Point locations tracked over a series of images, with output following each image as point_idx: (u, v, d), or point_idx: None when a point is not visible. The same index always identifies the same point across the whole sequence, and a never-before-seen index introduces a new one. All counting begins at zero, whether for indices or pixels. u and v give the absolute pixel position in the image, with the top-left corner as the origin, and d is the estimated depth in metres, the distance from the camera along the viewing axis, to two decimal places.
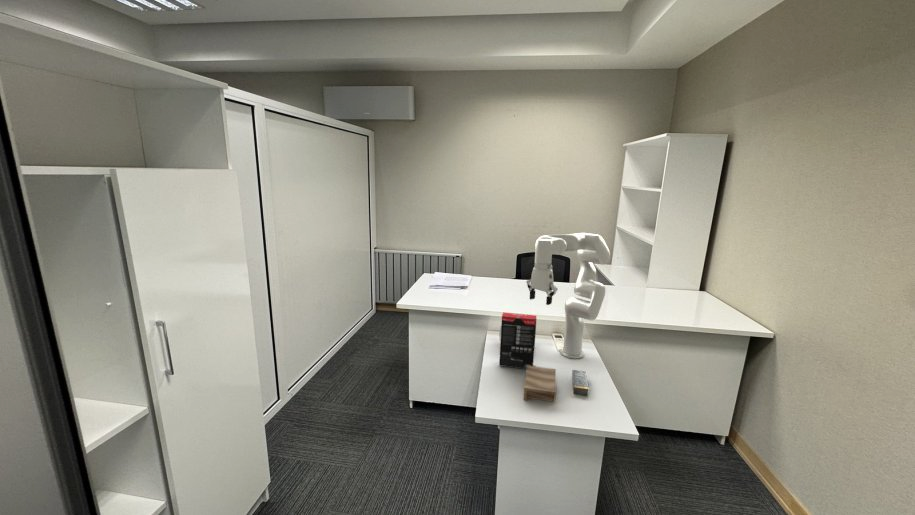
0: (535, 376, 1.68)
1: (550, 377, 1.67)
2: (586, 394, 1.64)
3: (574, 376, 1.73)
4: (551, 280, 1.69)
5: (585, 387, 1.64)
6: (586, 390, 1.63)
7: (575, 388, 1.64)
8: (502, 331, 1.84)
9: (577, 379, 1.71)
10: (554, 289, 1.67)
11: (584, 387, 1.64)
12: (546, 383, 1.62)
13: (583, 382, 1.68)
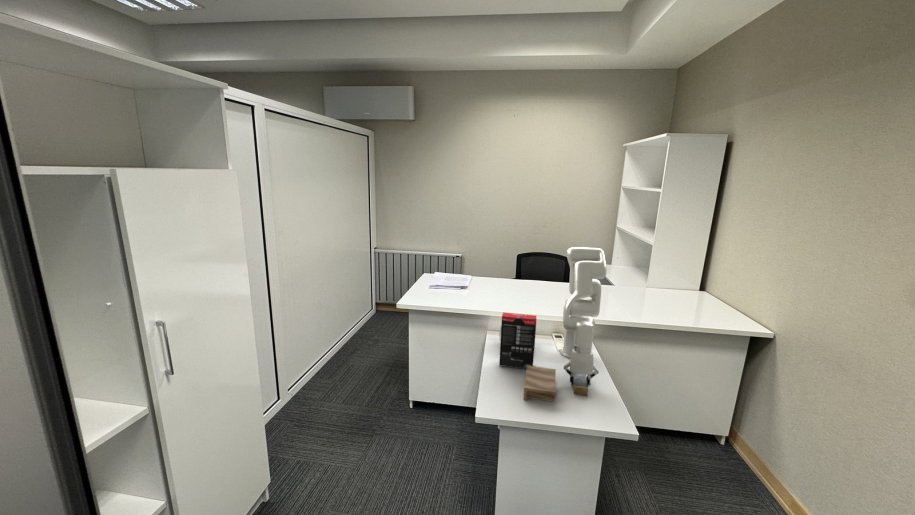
0: (535, 376, 1.68)
1: (550, 377, 1.67)
2: (586, 394, 1.64)
3: (574, 376, 1.73)
4: (570, 359, 1.70)
5: (585, 387, 1.64)
6: (586, 390, 1.63)
7: (575, 388, 1.64)
8: (502, 331, 1.84)
9: (577, 379, 1.71)
10: None
11: (584, 387, 1.64)
12: (546, 383, 1.62)
13: (583, 382, 1.68)
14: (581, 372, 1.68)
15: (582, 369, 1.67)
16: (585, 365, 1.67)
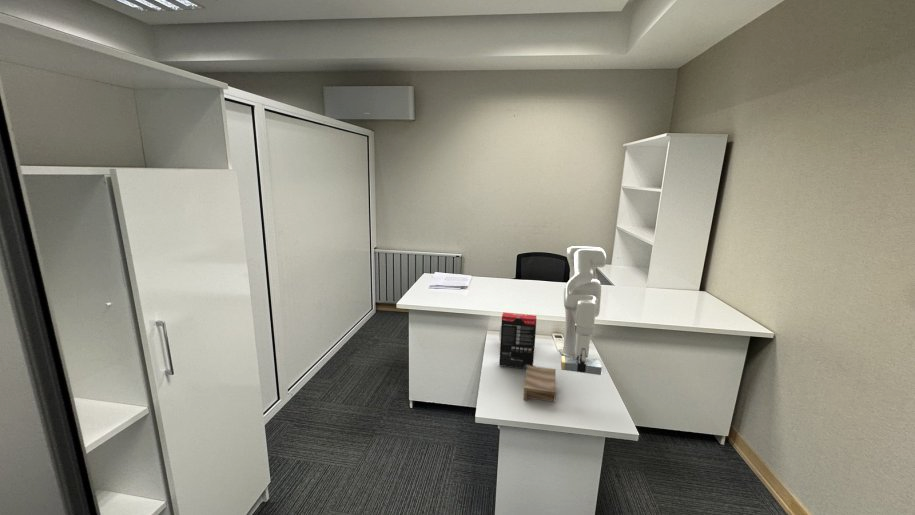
0: (535, 376, 1.68)
1: (550, 377, 1.67)
2: (561, 367, 1.61)
3: None
4: None
5: (563, 361, 1.60)
6: (561, 363, 1.60)
7: None
8: (502, 331, 1.84)
9: (578, 360, 1.62)
10: None
11: (563, 360, 1.61)
12: (546, 383, 1.62)
13: (573, 361, 1.60)
14: (575, 350, 1.60)
15: (575, 347, 1.59)
16: (576, 344, 1.58)
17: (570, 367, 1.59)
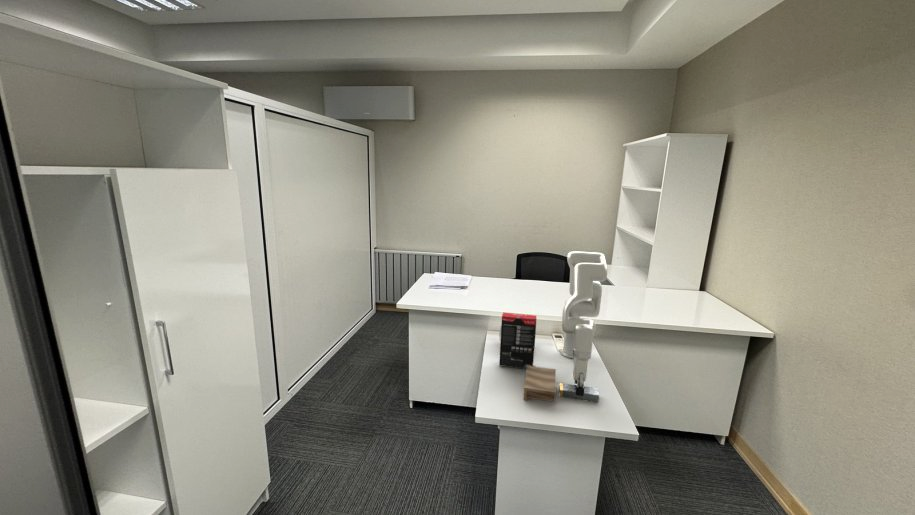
0: (535, 376, 1.68)
1: (550, 377, 1.67)
2: (559, 394, 1.63)
3: None
4: None
5: (561, 389, 1.63)
6: (559, 390, 1.63)
7: None
8: (502, 331, 1.84)
9: None
10: None
11: (561, 387, 1.64)
12: (546, 383, 1.62)
13: (571, 389, 1.63)
14: (573, 374, 1.62)
15: (573, 371, 1.62)
16: (574, 368, 1.60)
17: (568, 394, 1.62)
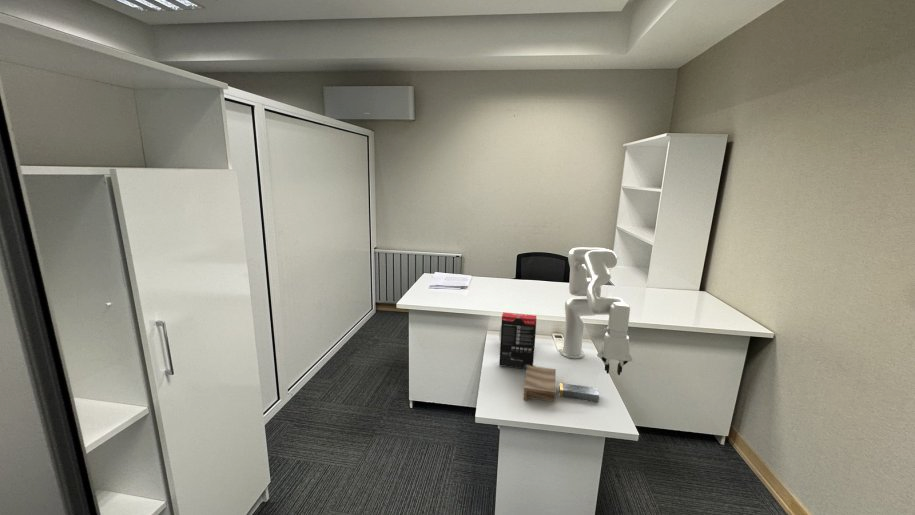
0: (535, 376, 1.68)
1: (550, 377, 1.67)
2: (559, 394, 1.63)
3: (582, 386, 1.65)
4: (603, 344, 1.56)
5: (561, 389, 1.63)
6: (559, 390, 1.63)
7: None
8: (502, 331, 1.84)
9: (576, 387, 1.64)
10: None
11: (561, 387, 1.64)
12: (546, 383, 1.62)
13: (571, 389, 1.63)
14: (616, 358, 1.53)
15: (617, 355, 1.53)
16: (620, 350, 1.52)
17: (568, 394, 1.62)
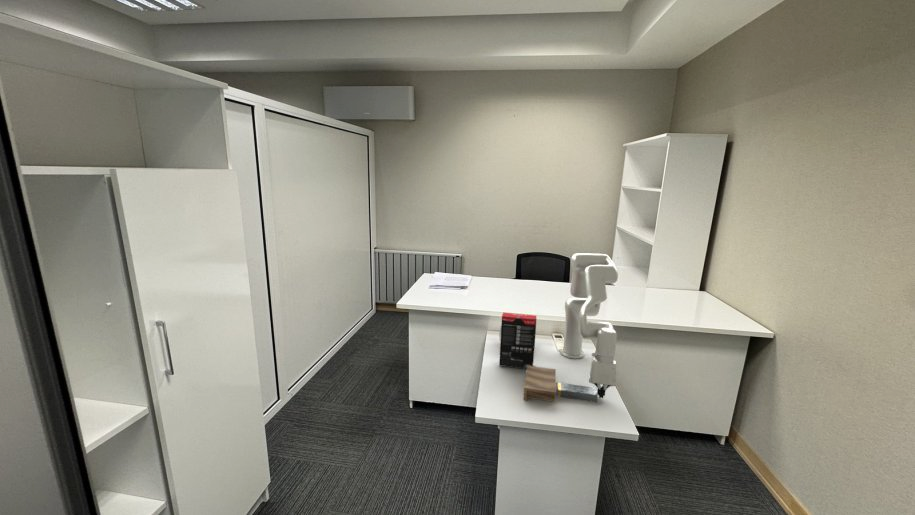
0: (535, 376, 1.68)
1: (550, 377, 1.67)
2: None
3: (580, 386, 1.65)
4: (591, 368, 1.59)
5: (559, 388, 1.63)
6: (558, 390, 1.63)
7: None
8: (502, 331, 1.84)
9: (574, 386, 1.64)
10: None
11: (559, 387, 1.63)
12: (546, 383, 1.62)
13: (569, 389, 1.62)
14: (603, 382, 1.57)
15: (604, 379, 1.56)
16: (607, 375, 1.56)
17: (566, 394, 1.61)
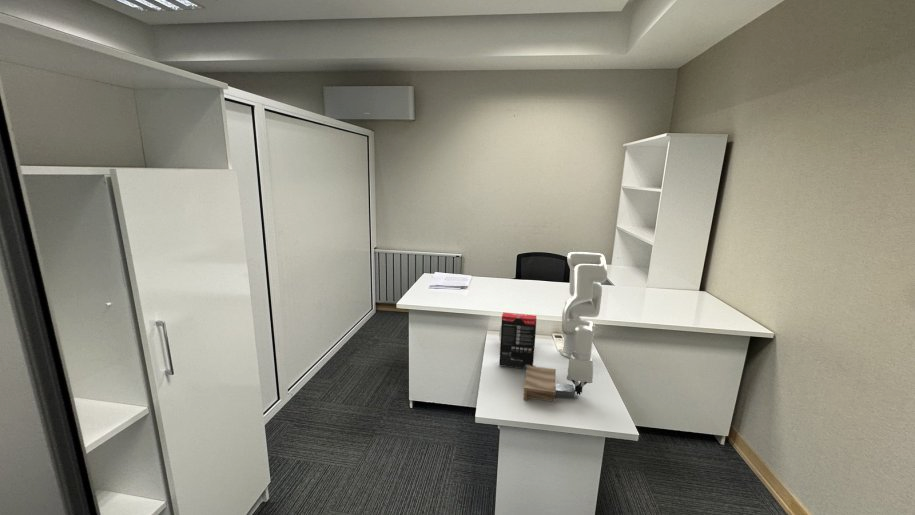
0: (535, 376, 1.68)
1: (550, 377, 1.67)
2: None
3: (558, 384, 1.66)
4: (568, 366, 1.61)
5: None
6: None
7: None
8: (502, 331, 1.84)
9: None
10: None
11: None
12: (546, 383, 1.62)
13: None
14: (580, 379, 1.59)
15: (581, 376, 1.59)
16: (584, 372, 1.58)
17: None
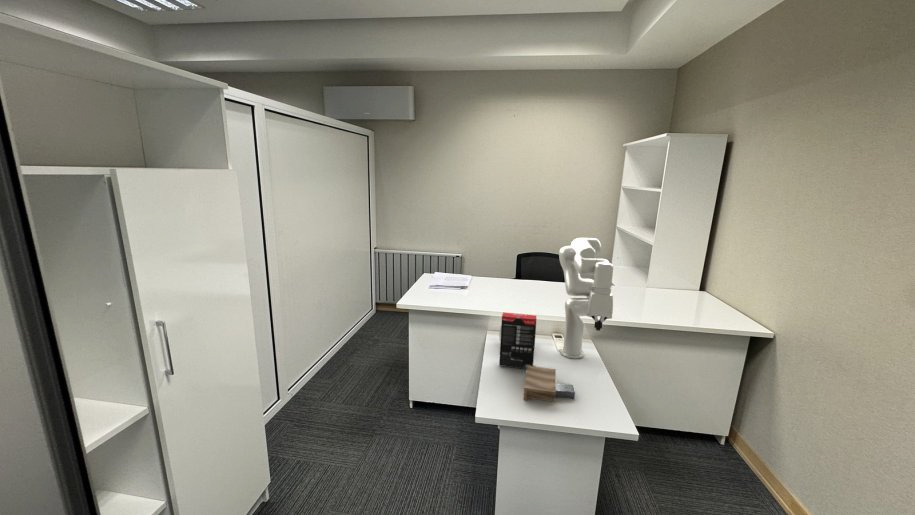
0: (535, 376, 1.68)
1: (550, 377, 1.67)
2: None
3: (558, 384, 1.66)
4: (588, 302, 1.66)
5: None
6: None
7: None
8: (502, 331, 1.84)
9: None
10: None
11: None
12: (546, 383, 1.62)
13: None
14: (600, 314, 1.63)
15: (601, 311, 1.63)
16: (604, 307, 1.62)
17: None
